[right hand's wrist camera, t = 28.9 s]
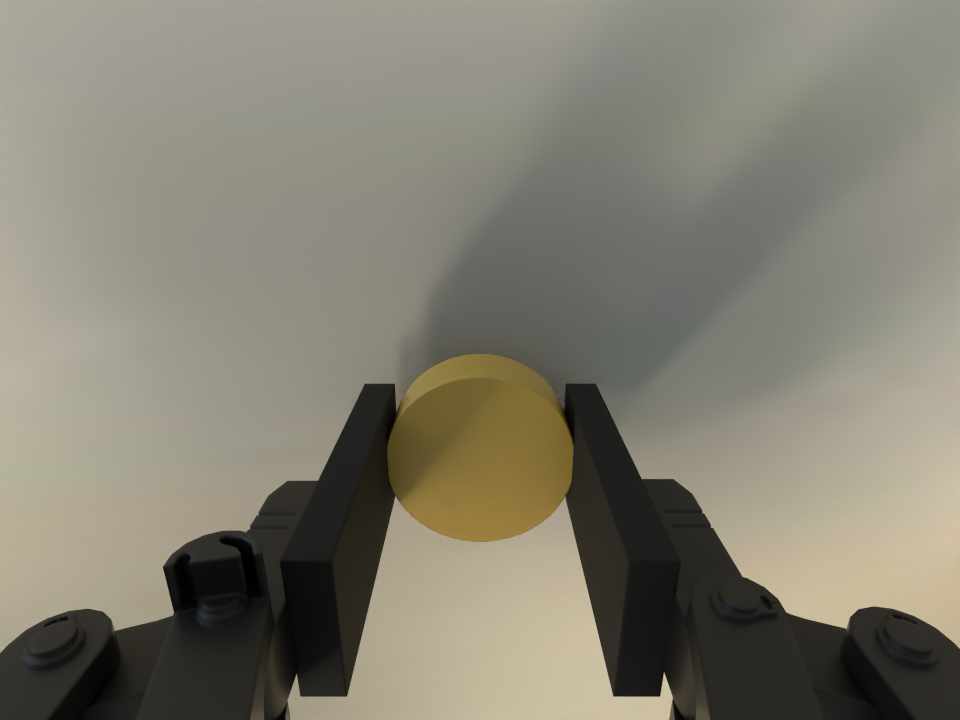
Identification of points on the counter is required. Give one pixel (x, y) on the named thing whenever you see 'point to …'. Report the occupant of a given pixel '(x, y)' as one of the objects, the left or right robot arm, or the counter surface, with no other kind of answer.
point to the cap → (480, 449)
